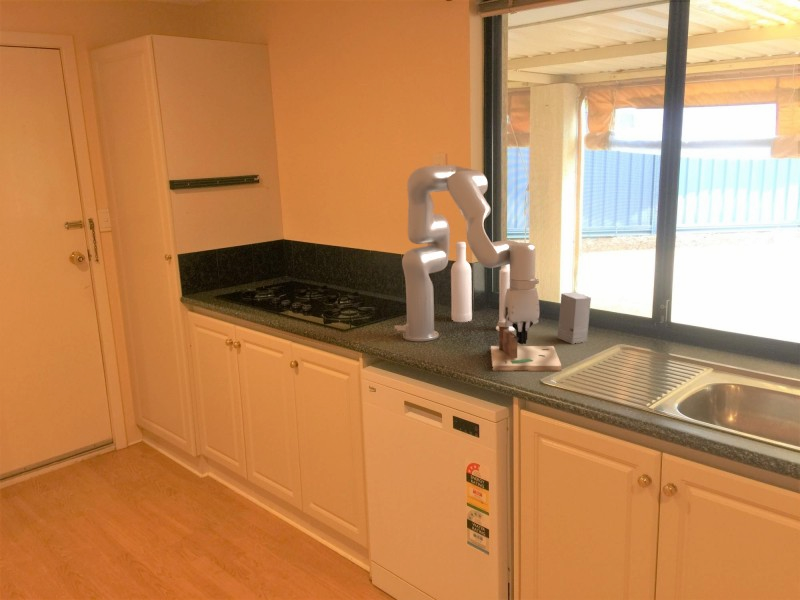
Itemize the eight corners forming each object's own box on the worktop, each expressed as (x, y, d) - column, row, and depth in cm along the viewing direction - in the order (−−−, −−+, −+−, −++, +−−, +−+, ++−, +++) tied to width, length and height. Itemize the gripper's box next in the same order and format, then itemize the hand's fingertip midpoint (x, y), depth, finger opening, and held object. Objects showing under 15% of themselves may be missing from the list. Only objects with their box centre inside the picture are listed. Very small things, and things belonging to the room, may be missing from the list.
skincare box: (557, 338, 230) (558, 293, 227) (574, 335, 233) (575, 291, 230) (572, 344, 223) (573, 298, 219) (590, 341, 225) (591, 295, 222)
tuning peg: (495, 347, 216) (496, 321, 214) (508, 346, 217) (508, 320, 215) (511, 362, 201) (511, 334, 199) (524, 361, 201) (524, 333, 199)
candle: (515, 332, 240) (515, 262, 234) (495, 331, 241) (495, 262, 236) (515, 327, 246) (516, 259, 241) (496, 326, 248) (496, 259, 242)
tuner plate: (492, 370, 200) (492, 364, 199) (490, 350, 219) (490, 345, 219) (561, 370, 198) (561, 365, 197) (553, 350, 217) (553, 345, 217)
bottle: (476, 320, 258) (476, 242, 251) (460, 323, 254) (459, 244, 247) (463, 316, 264) (462, 240, 258) (447, 319, 260) (446, 242, 254)
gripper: (538, 280, 208) (538, 337, 212) (494, 284, 204) (494, 342, 208) (550, 284, 201) (549, 343, 205) (504, 288, 197) (504, 349, 201)
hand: (521, 342), depth 207 cm, fingers closed
